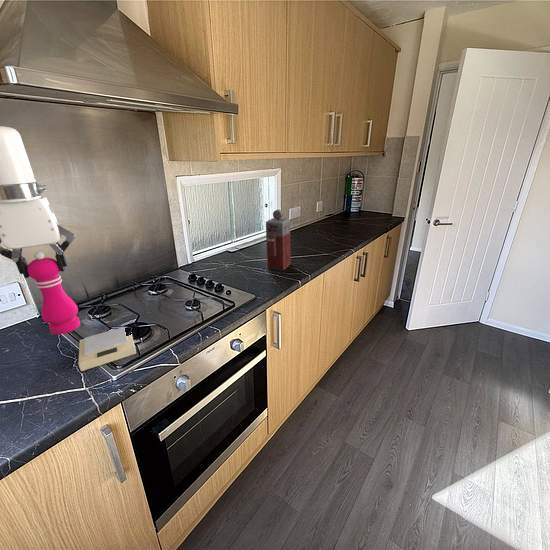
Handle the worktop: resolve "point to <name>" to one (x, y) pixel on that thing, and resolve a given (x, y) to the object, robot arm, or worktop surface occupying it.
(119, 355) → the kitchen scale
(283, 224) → the red square decanter
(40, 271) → the pepper mill
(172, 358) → the worktop surface
